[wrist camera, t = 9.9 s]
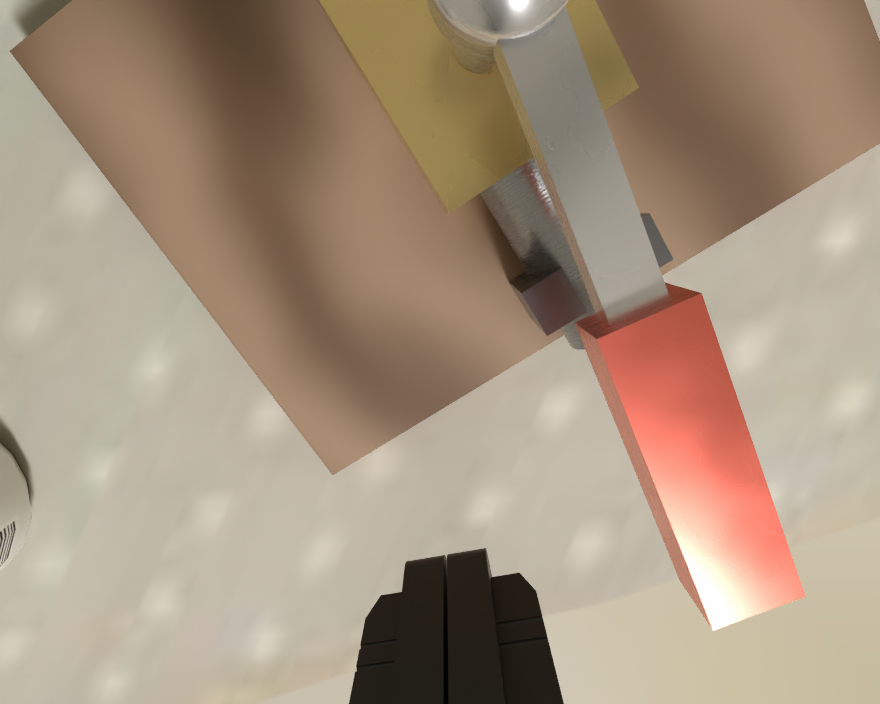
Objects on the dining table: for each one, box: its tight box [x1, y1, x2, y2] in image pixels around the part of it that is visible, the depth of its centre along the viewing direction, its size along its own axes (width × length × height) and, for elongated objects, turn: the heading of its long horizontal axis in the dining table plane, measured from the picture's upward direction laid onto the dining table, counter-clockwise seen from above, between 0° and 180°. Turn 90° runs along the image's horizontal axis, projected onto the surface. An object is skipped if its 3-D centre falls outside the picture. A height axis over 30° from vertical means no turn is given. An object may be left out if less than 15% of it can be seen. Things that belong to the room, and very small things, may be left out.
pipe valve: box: [319, 0, 673, 349], centre depth 14 cm, size 6×18×9 cm, turn 33°
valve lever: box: [427, 0, 805, 630], centre depth 10 cm, size 15×3×2 cm, turn 25°
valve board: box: [10, 0, 880, 475], centre depth 18 cm, size 24×18×2 cm
